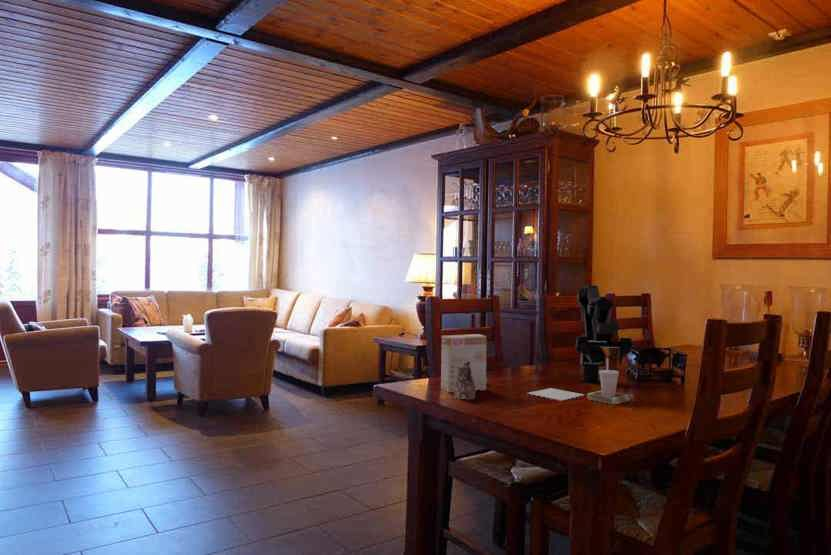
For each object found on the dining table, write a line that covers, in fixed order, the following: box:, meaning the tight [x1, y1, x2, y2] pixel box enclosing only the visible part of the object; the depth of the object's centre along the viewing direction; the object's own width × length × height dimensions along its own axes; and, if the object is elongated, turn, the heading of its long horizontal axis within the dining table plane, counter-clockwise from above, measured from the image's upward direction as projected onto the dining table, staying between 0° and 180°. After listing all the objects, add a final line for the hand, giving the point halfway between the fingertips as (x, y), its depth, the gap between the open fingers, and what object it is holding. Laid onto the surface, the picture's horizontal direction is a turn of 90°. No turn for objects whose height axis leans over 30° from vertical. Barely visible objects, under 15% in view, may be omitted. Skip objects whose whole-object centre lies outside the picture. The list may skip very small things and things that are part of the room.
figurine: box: [453, 361, 476, 401], centre depth 199 cm, size 7×7×12 cm
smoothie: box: [599, 357, 620, 398], centre depth 198 cm, size 6×6×14 cm
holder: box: [586, 389, 631, 406], centre depth 198 cm, size 10×10×2 cm
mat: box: [526, 387, 586, 402], centre depth 205 cm, size 14×14×1 cm
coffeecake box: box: [440, 333, 487, 393], centre depth 211 cm, size 15×7×20 cm, turn 110°
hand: (606, 364), depth 202 cm, fingers open, 9 cm apart
